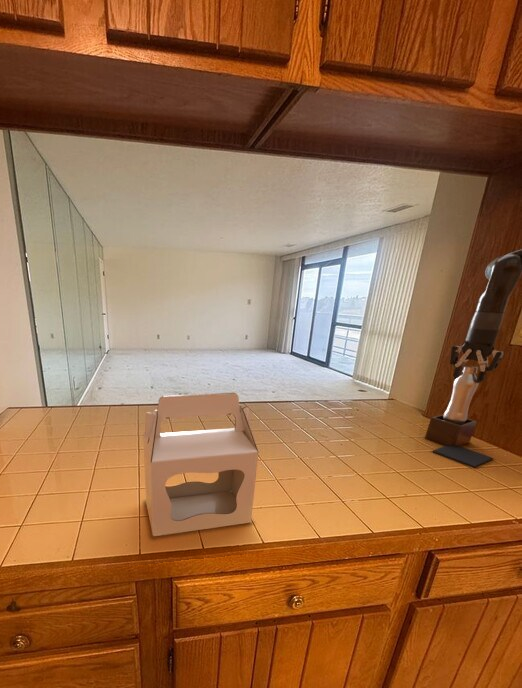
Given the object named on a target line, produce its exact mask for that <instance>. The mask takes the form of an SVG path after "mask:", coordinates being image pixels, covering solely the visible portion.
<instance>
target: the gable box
mask: <svg viewBox="0 0 522 688" xmlns="http://www.w3.org/2000/svg"><path fill="white" fill-rule="evenodd" d="M223 415H227V416H231V415H233V417H234V427H230V428H228V427H227V428H215V429H204V430H203V429H201V430H190V431H174V432H162V433H161V431H162V429H161V425H162V422H163V420H165V419H166V420H169V419H175V418H176V419H178V418H193V417H208V416H223ZM253 435H254V434H253V433H252V430H251V427H250V407H249V406H243V407H242V406H241V405H240V398H239V395H238V393H236V392H219V393H202V394H201V393H197V394H196V393H195V394H179V395H177V394H176V395H162V396H160V397H159V399H158V402H157V409H154V410H153V412H149V411H147V412H145V430H144V433H143V435H142V438H143V462H144V487H145V488H144V489H145V504H146V509H147V515H148V520H149V523H150V528H151V534H152V537H160V536H167V535H173V534H174V535H175V534H181V533H187V532H188V533H189V532H194V531H200V530H208V529H215V528H222V527H228V526H237V525H243V524H250V523H252V518H253V508H254V499H255V489H256V488H255V487H256V479H257V470H258V469H257V468H258V459H259V449H258V447H257V444H256V440H255V439H254V436H253ZM189 473H190V474H215V473H218V476H217V477H218V478H217V479H216V480H215V481H212V482H204V481H187V482H183V483H180V484H176V485H172V486H166V483H167V481H168V480H169V479H171V478H172V477H174V476H176V475H182V474H189Z"/></svg>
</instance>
